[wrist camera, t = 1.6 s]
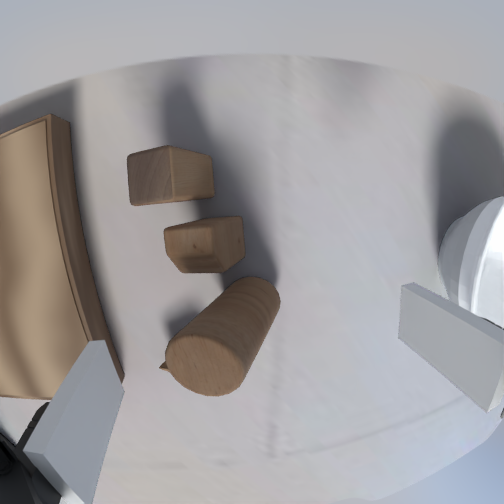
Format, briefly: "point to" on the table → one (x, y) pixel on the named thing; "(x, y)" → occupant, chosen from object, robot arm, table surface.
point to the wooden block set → (205, 261)
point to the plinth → (43, 264)
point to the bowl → (476, 261)
